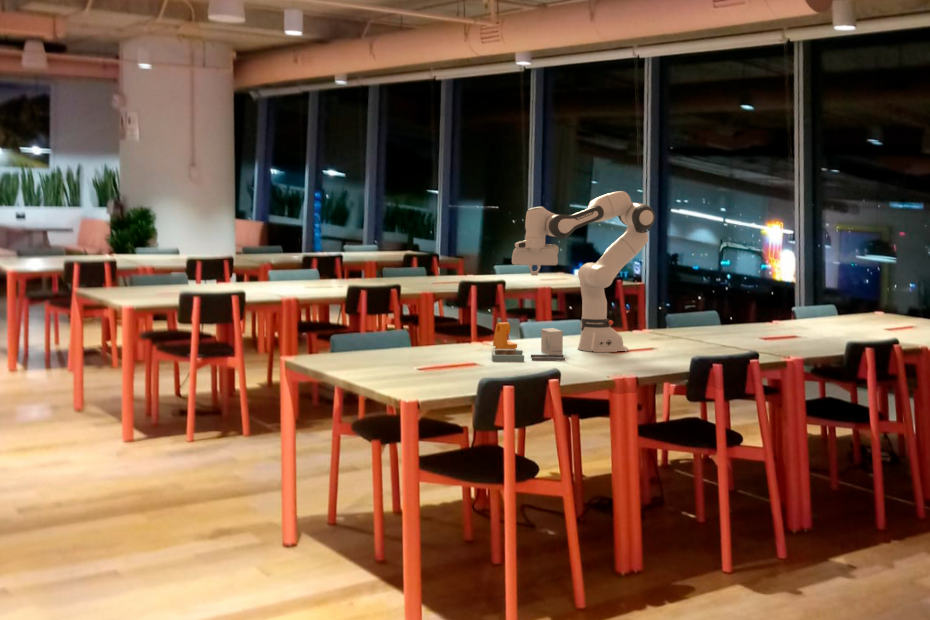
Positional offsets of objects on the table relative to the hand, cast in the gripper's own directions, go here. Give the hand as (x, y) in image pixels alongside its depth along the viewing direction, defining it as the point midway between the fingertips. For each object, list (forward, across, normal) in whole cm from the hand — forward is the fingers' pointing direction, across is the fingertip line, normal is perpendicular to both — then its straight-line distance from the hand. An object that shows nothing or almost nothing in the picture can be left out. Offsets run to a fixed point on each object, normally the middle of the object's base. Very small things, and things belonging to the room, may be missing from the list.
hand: (534, 275), depth 450 cm
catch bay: (+34, +11, +19) cm, 41 cm away
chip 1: (+34, +15, +19) cm, 42 cm away
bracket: (+34, +12, -10) cm, 38 cm away
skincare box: (+34, -8, +2) cm, 35 cm away
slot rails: (+34, -5, +19) cm, 39 cm away
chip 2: (+34, +11, +19) cm, 41 cm away
